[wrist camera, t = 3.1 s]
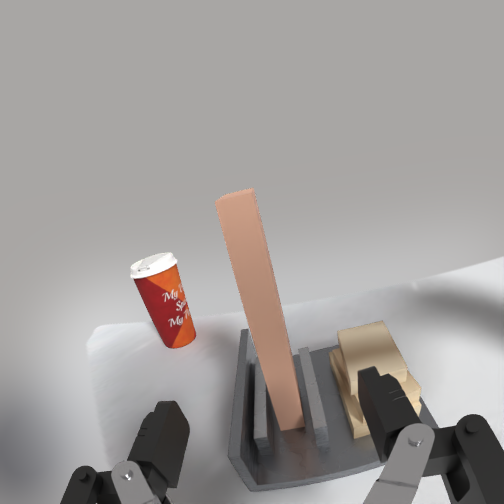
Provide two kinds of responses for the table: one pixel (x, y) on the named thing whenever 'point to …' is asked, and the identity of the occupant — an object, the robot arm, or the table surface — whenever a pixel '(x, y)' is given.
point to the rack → (298, 439)
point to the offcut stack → (364, 356)
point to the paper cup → (164, 298)
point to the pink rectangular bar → (261, 302)
